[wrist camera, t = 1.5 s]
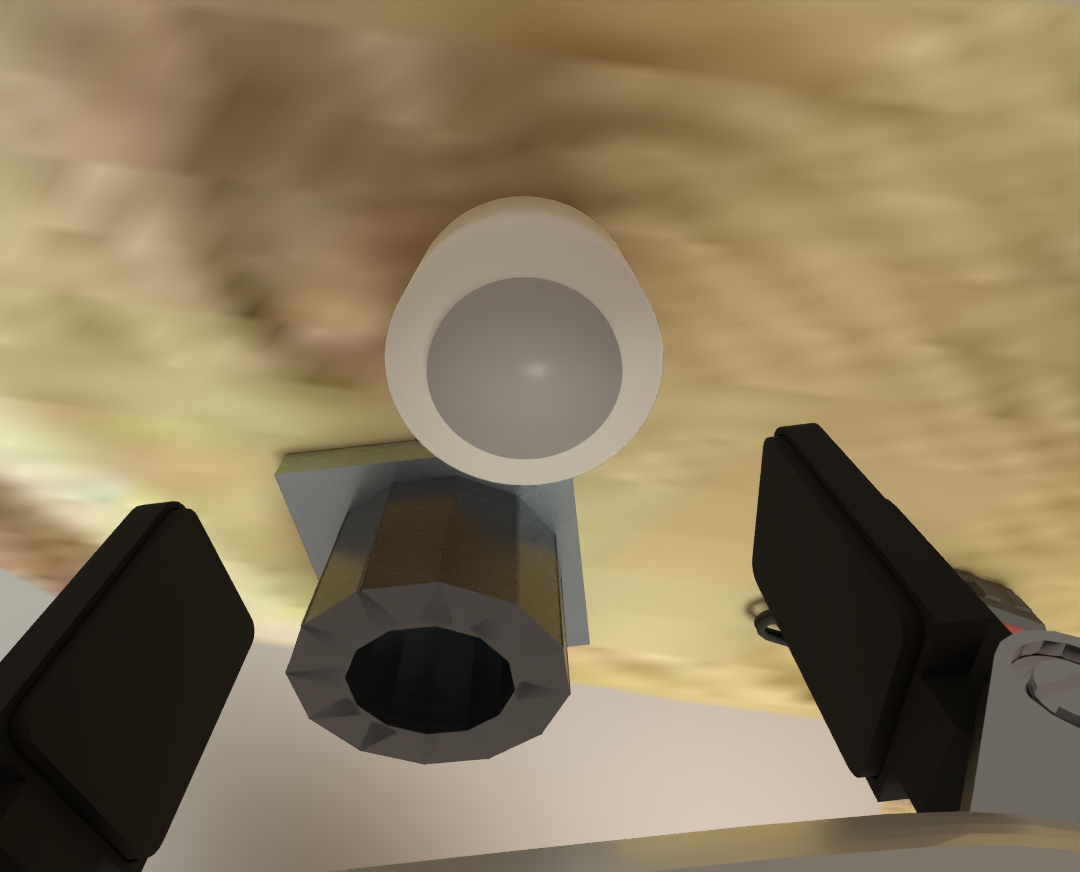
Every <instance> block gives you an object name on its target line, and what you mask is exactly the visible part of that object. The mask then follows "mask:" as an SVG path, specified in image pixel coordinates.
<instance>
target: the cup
mask: <svg viewBox="0 0 1080 872" xmlns="http://www.w3.org/2000/svg"><path fill="white" fill-rule="evenodd" d="M385 369H386V376H387V381H388V386H389V390H390V393H391V396H392V399H393V401H394V404H395V406H396V408H397V410H398V412H399V414H400V416H401V418H402V420H403V421H404V422H405V424H406V425H407V427H408V428H409V430H410V431H411V432H412V434H413V435H414V436H415V437H416V438H417V439H418V440H419V441H420V443H421V444H422V445H423V446H425V447H426V448H427V449H428V450H429V451H430V452H431V453H433V454H434V455H435V456H436V457H438V458H439V459H441V460H442V461H444V462H445V463H447V464H448V465H450V466H452V467H454V468H456V469H458V470H460V471H461V472H464V473H466V474H469V475H471V476H474V477H476V478H480V479H484V480H487V481H491V482H496V483H502V484H508V485H541V484H547V483H553V482H558V481H562V480H565V479H569V478H573V477H575V476H578V475H580V474H583V473H585V472H588V471H589V470H591V469H593V468H595V467H597V466H599V465H601V464H602V463H604V462H605V461H607V460H608V459H610V458H611V457H612V456H614V455H615V454H616V453H617V452H619V451H620V450H621V449H622V448H623V447H624V446H625V445H627V443H628V442H629V441H630V440H631V439H632V438H633V437H634V436H635V434H636V433H637V432H638V431H639V429H640V428H641V426H642V425H643V423H644V422H645V421H646V419H647V417H648V415H649V413H650V411H651V409H652V407H653V405H654V403H655V400H656V397H657V394H658V391H659V388H660V383H661V378H662V373H663V344H662V337H661V333H660V328H659V324H658V321H657V319H656V316H655V313H654V311H653V308H652V306H651V304H650V302H649V301H648V299H647V297H646V295H645V293H644V292H643V290H642V288H641V286H640V285H639V283H638V281H637V279H636V277H635V276H634V274H633V272H632V270H631V268H630V267H629V265H628V263H627V261H626V260H625V258H624V256H623V254H622V252H621V251H620V249H619V247H618V246H617V244H616V243H615V242H614V240H613V239H612V238H611V236H610V235H609V234H608V233H607V232H606V231H605V230H604V229H603V228H602V227H601V226H600V225H599V224H598V223H597V222H595V221H594V220H593V219H591V218H590V217H589V216H587V215H586V214H584V213H583V212H581V211H579V210H577V209H575V208H573V207H572V206H569V205H566V204H564V203H561V202H558V201H555V200H551V199H546V198H542V197H531V196H516V197H506V198H501V199H496V200H492V201H489V202H486V203H483V204H481V205H478V206H476V207H474V208H472V209H470V210H468V211H466V212H464V213H463V214H462V215H460V216H459V217H457V218H456V219H455V220H453V221H452V222H451V223H450V224H449V225H448V226H447V227H445V228H444V229H443V230H442V231H441V232H440V234H439V235H438V236H437V237H436V239H435V240H434V241H433V242H432V244H431V245H430V247H429V249H428V250H427V252H426V254H425V255H424V257H423V259H422V261H421V263H420V264H419V266H418V268H417V270H416V271H415V273H414V275H413V277H412V279H411V280H410V282H409V284H408V286H407V288H406V289H405V291H404V293H403V295H402V297H401V298H400V300H399V302H398V304H397V306H396V308H395V311H394V313H393V316H392V318H391V321H390V325H389V329H388V333H387V337H386V346H385Z"/></svg>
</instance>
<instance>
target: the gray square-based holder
mask: <svg viewBox="0 0 1080 872" xmlns="http://www.w3.org/2000/svg"><path fill="white" fill-rule="evenodd" d="M274 475H275V478H276V480H277V483H278V485H279V487H280V490H281V492H282V494H283V497H284V499H285V502H286V504H287V506H288V509H289V511H290V513H291V516H292V518H293V521H294V523H295V525H296V528H297V530H298V532H299V535H300V537H301V540H302V542H303V544H304V547H305V549H306V551H307V554H308V556H309V559H310V561H311V563H312V566H313V568H314V570H315V573H316V575H317V578H318V580H319V582H318V584H317V587H316V589H315V592H314V594H313V597H312V599H311V602H310V604H309V607H308V609H307V611H306V614H305V616H304V619H303V621H302V624H301V629H300V632H299V635H298V638H297V641H296V644H295V647H294V650H293V653H292V657H291V659H290V662H289V664H288V667H287V669H286V675H287V676H288V678H289V680H290V682H291V684H292V686H293V688H294V690H295V692H296V694H297V696H298V698H299V700H300V701H301V703H302V706H303V707H304V709H305V711H306V713H307V715H308V718H309V719H311V720H312V721H314V722H315V723H317V724H319V725H320V726H322V727H324V728H325V729H327V730H328V731H330V732H331V733H333V734H335V735H336V736H338V737H339V738H341V739H343V740H344V741H346V742H347V743H349V744H350V745H352V746H354V747H355V748H357V749H358V750H360V751H364V752H369V753H374V754H378V755H383V756H388V757H393V758H397V759H402V760H406V761H411V762H416V763H420V764H432V763H444V762H456V761H467V760H479V759H489V758H491V757H493V756H495V755H498V754H500V753H502V752H504V751H506V750H508V749H510V748H513V747H515V746H517V745H519V744H521V743H523V742H526V741H528V740H530V739H532V738H534V737H536V736H538V735H541V734H542V733H543V731H544V730H545V728H546V727H547V725H548V724H549V723H550V721H551V720H552V718H553V717H554V716H555V714H556V713H557V711H558V710H559V709H560V707H561V706H562V705H563V703H564V702H565V701H566V699H567V698H568V696H569V695H570V679H569V666H568V653H567V647H568V646H579V645H589V644H590V641H589V631H588V622H587V612H586V603H585V593H584V584H583V574H582V564H581V555H580V545H579V536H578V526H577V517H576V507H575V498H574V488H573V478H569V479H565V480H562V481H558V482H553V483H547V484H541V485H508V484H502V483H496V482H491V481H487V480H484V479H480V478H476V477H474V476H471V475H469V474H466V473H464V472H461V471H460V470H458V469H456V468H454V467H452V466H450V465H448V464H447V463H445V462H444V461H442V460H441V459H439V458H438V457H436V456H435V455H434V454H433V453H431V452H430V451H429V450H428V449H427V448H426V447H425V446H423V445H422V444H421V443H420V441H419V440H415V441H406V442H397V443H388V444H379V445H370V446H361V447H351V448H342V449H333V450H324V451H315V452H306V453H297V454H288V455H286V457H285V458H284V460H283V462H282V463H281V465H280V466H279V468H278V469H277V471H276V473H275V474H274Z"/></svg>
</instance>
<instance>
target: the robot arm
mask: <svg viewBox="0 0 1080 872" xmlns="http://www.w3.org/2000/svg"><path fill="white" fill-rule="evenodd" d="M752 567H753V573H754V577H755V580H756V583H757V585H758V587H759V589H760V591H761V593H762V595H763V597H764V599H765V601H766V603H767V605H768V607H769V609H770V611H771V613H772V615H773V617H774V619H775V621H776V623H777V625H778V627H779V629H780V631H781V633H782V635H783V637H784V639H785V641H786V643H787V645H788V647H789V649H790V651H791V653H792V655H793V657H794V659H795V661H796V663H797V665H798V667H799V669H800V671H801V673H802V675H803V677H804V680H805V682H806V684H807V686H808V688H809V690H810V692H811V694H812V696H813V698H814V700H815V702H816V704H817V706H818V708H819V710H820V712H821V714H822V716H823V718H824V720H825V722H826V724H827V726H828V728H829V730H830V732H831V734H832V736H833V738H834V740H835V742H836V744H837V746H838V748H839V750H840V752H841V754H842V756H843V758H844V760H845V762H846V764H847V766H848V768H849V769H850V771H851V772H852V773H853V774H854V776H856V777H857V778H860V777H866V779H867V781H868V783H869V785H870V787H871V789H872V791H873V793H874V795H875V797H876V799H877V801H878V802H883V801H892V800H901V799H910V801H911V803H912V804H913V806H914V808H915V810H916V812H917V813H904V814H883V815H871V816H860V817H848V818H838V819H825V820H814V821H803V822H792V823H780V824H768V825H757V826H745V827H736V828H727V829H719V830H718V829H717V830H709V831H698V832H689V833H679V834H670V835H661V836H651V837H642V838H632V839H623V840H613V841H604V842H594V843H585V844H575V845H567V846H556V847H548V848H538V849H529V850H520V851H511V852H501V853H493V854H484V855H474V856H466V857H456V858H447V859H438V860H429V861H420V862H411V863H403V864H393V865H384V866H376V867H367V868H357V869H348V870H340V871H331V872H1080V638H1079V637H1075V636H1071V635H1067V634H1063V633H1059V632H1055V631H1041V630H1029V631H1024V632H1018V633H1013V634H1012V633H1011V632H1010V631H1009V630H1008V628H1007V627H1006V626H1005V625H1004V624H1003V623H1002V622H1001V621H1000V620H999V619H998V617H997V616H996V615H995V614H994V613H993V612H992V611H991V610H990V609H989V608H988V606H987V605H986V604H985V603H984V602H983V601H982V600H981V599H980V598H979V597H978V595H977V594H976V593H975V592H974V591H973V590H972V589H971V588H970V587H969V586H968V585H967V583H966V582H965V581H964V580H963V579H962V578H961V577H960V576H959V575H958V574H957V572H956V571H955V570H954V569H953V568H952V567H951V566H950V565H949V564H948V563H947V561H946V560H945V559H944V558H943V557H942V556H941V555H940V554H939V553H938V552H937V551H936V549H935V548H934V547H933V546H932V545H931V544H930V543H929V542H928V541H927V540H926V538H925V537H924V536H923V535H922V534H921V533H920V532H919V531H918V530H917V529H916V527H915V526H914V525H913V524H912V523H911V522H910V521H909V520H908V519H907V518H906V516H905V515H904V514H903V513H902V512H901V511H900V510H899V509H898V508H897V507H896V506H895V505H894V504H893V503H892V502H891V501H889V500H888V499H885V498H884V497H883V495H882V494H881V493H880V492H879V491H878V490H877V489H876V488H875V487H874V485H873V484H872V483H871V482H870V481H869V480H868V479H867V478H866V477H865V475H864V474H863V473H862V472H861V471H860V470H859V469H858V468H857V467H856V466H855V464H854V463H853V462H852V461H851V460H850V459H849V458H848V457H847V456H846V454H845V453H844V452H843V451H842V450H841V449H840V448H839V447H838V446H837V444H836V443H835V442H834V441H833V440H832V439H831V438H830V437H829V436H828V434H827V433H826V432H825V431H824V430H823V429H822V428H821V427H820V426H819V425H818V424H816V423H808V424H800V425H792V426H784V427H779V428H777V429H776V431H775V433H774V437H768V438H766V439H765V441H764V445H763V454H762V465H761V475H760V485H759V496H758V506H757V516H756V527H755V537H754V547H753V557H752ZM253 639H254V623H253V620H252V618H251V616H250V614H249V612H248V611H247V609H246V607H245V605H244V603H243V601H242V599H241V597H240V595H239V594H238V592H237V590H236V588H235V586H234V584H233V582H232V580H231V578H230V577H229V575H228V573H227V571H226V569H225V567H224V565H223V563H222V561H221V560H220V558H219V556H218V554H217V552H216V550H215V548H214V546H213V544H212V543H211V541H210V539H209V537H208V535H207V533H206V531H205V529H204V527H203V525H202V524H201V522H200V520H199V518H198V516H197V515H196V513H195V512H194V511H193V510H191V509H186V508H185V506H184V505H182V504H181V503H180V502H175V501H172V502H163V503H155V504H147V505H141V506H137V507H135V508H134V509H133V510H132V511H131V512H130V513H129V514H128V515H127V516H126V518H125V519H124V520H123V521H122V522H121V523H120V525H119V526H118V527H117V528H116V529H115V530H114V531H113V533H112V534H111V535H110V536H109V537H108V538H107V540H106V541H105V542H104V543H103V544H102V545H101V546H100V548H99V549H98V550H97V551H96V552H95V553H94V555H93V556H92V557H91V558H90V559H89V560H88V561H87V563H86V564H85V565H84V566H83V567H82V568H81V570H80V571H79V572H78V573H77V574H76V575H75V576H74V578H73V579H72V580H71V581H70V582H69V583H68V585H67V586H66V587H65V588H64V589H63V590H62V591H61V593H60V594H59V595H58V596H57V597H56V598H55V600H54V601H53V602H52V603H51V604H50V605H49V607H48V608H47V609H46V610H45V611H44V612H43V614H42V615H41V616H40V617H39V618H38V619H37V620H36V622H35V623H34V624H33V625H32V626H31V627H30V629H29V630H28V631H27V632H26V633H25V634H24V635H23V637H22V638H21V639H20V640H19V641H18V642H17V643H16V645H15V646H14V647H13V648H12V649H11V650H10V652H9V653H8V654H7V655H6V656H5V657H4V659H3V660H2V661H1V662H0V872H141V871H142V869H143V867H144V865H145V863H146V861H147V858H148V857H150V856H152V855H154V854H155V853H156V851H157V850H158V849H159V848H160V846H161V844H162V842H163V840H164V838H165V836H166V834H167V832H168V829H169V827H170V825H171V823H172V820H173V818H174V816H175V814H176V812H177V809H178V807H179V805H180V803H181V800H182V798H183V796H184V794H185V792H186V789H187V787H188V785H189V783H190V780H191V778H192V776H193V774H194V771H195V769H196V766H197V765H198V763H199V760H200V758H201V756H202V754H203V751H204V749H205V747H206V745H207V742H208V740H209V738H210V736H211V734H212V731H213V729H214V727H215V725H216V723H217V720H218V718H219V716H220V713H221V711H222V709H223V707H224V705H225V703H226V700H227V698H228V696H229V694H230V691H231V689H232V687H233V685H234V682H235V680H236V678H237V676H238V674H239V671H240V669H241V667H242V665H243V662H244V660H245V658H246V656H247V654H248V651H249V649H250V647H251V645H252V642H253Z"/></svg>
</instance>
